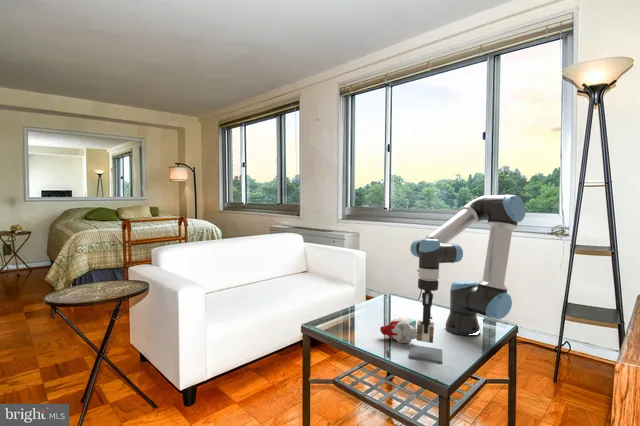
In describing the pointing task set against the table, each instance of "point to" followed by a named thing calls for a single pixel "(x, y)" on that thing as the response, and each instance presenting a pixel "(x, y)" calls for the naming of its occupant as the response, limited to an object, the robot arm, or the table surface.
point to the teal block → (412, 322)
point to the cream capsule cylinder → (404, 319)
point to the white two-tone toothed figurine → (400, 331)
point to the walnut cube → (419, 331)
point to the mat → (425, 353)
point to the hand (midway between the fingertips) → (425, 338)
